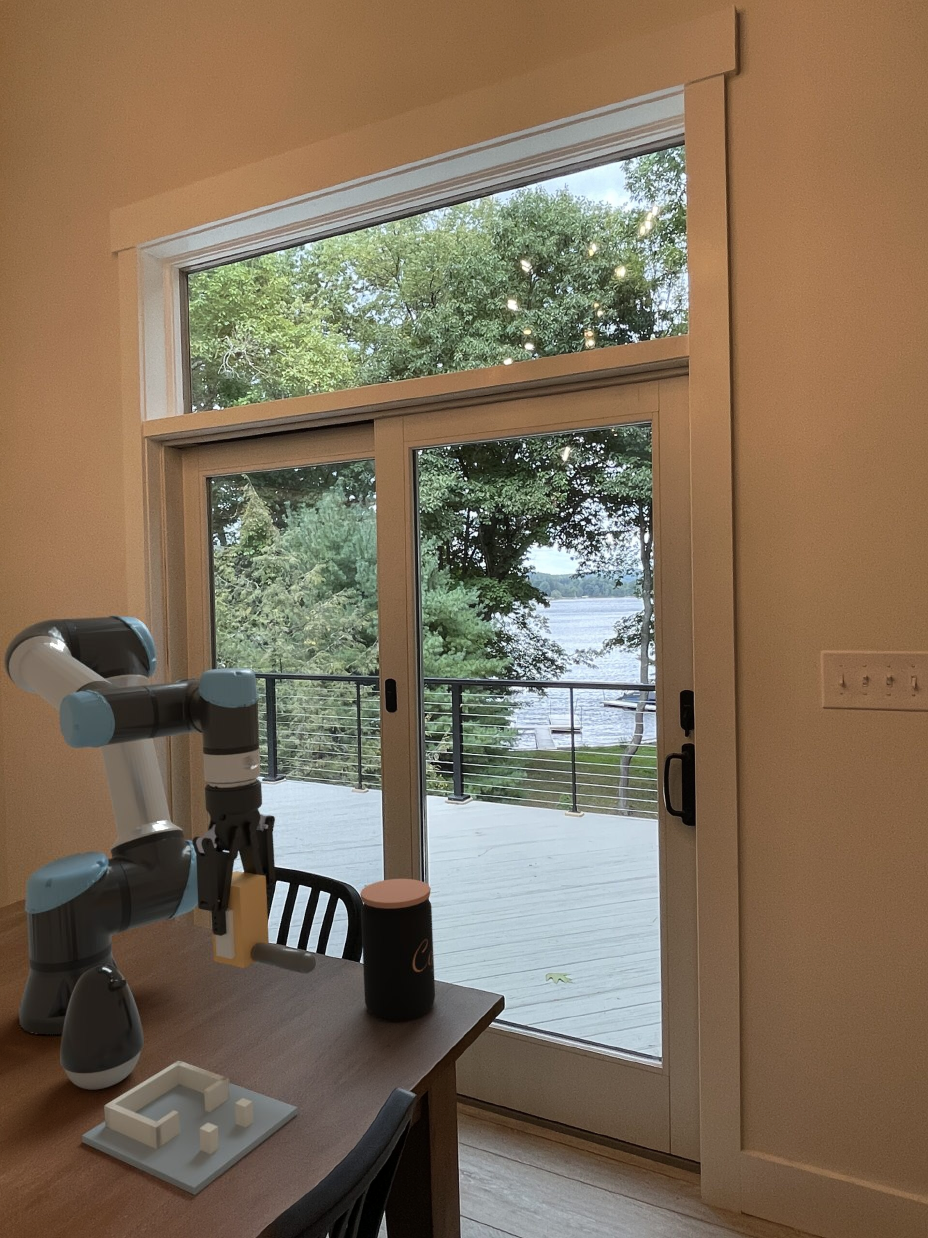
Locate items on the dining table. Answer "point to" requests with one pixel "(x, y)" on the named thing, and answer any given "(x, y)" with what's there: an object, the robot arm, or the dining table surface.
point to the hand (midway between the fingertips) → (240, 948)
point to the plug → (257, 929)
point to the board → (187, 1125)
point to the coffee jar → (397, 949)
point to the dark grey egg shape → (100, 1030)
